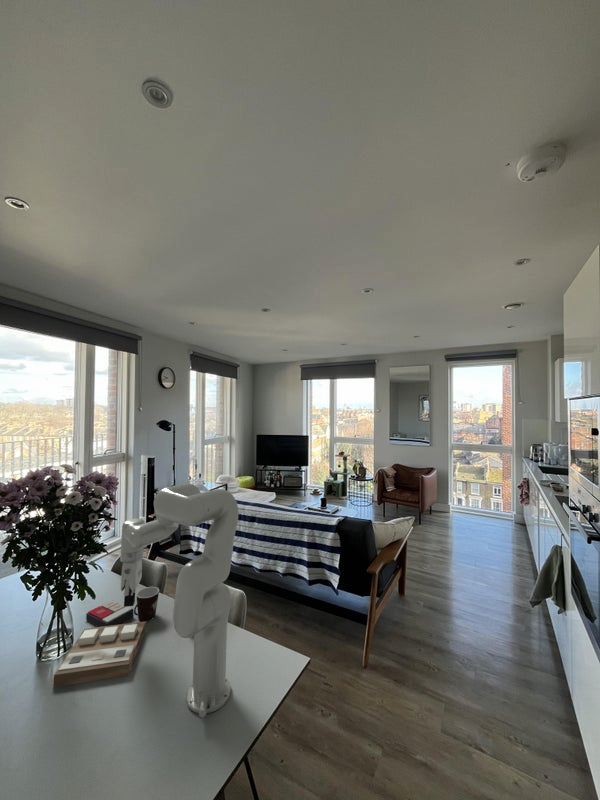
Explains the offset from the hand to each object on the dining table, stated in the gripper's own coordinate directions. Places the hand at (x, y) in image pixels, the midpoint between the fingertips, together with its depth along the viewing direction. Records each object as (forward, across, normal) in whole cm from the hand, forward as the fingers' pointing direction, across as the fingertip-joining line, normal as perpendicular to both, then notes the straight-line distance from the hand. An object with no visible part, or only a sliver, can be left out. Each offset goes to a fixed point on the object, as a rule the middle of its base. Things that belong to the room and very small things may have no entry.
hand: (129, 604), depth 117 cm
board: (+14, -5, +6) cm, 16 cm away
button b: (+12, -1, +6) cm, 13 cm away
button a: (+12, -1, -1) cm, 12 cm away
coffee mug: (+14, +14, -2) cm, 20 cm away
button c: (+12, -1, +12) cm, 17 cm away
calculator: (+15, +17, +11) cm, 25 cm away
